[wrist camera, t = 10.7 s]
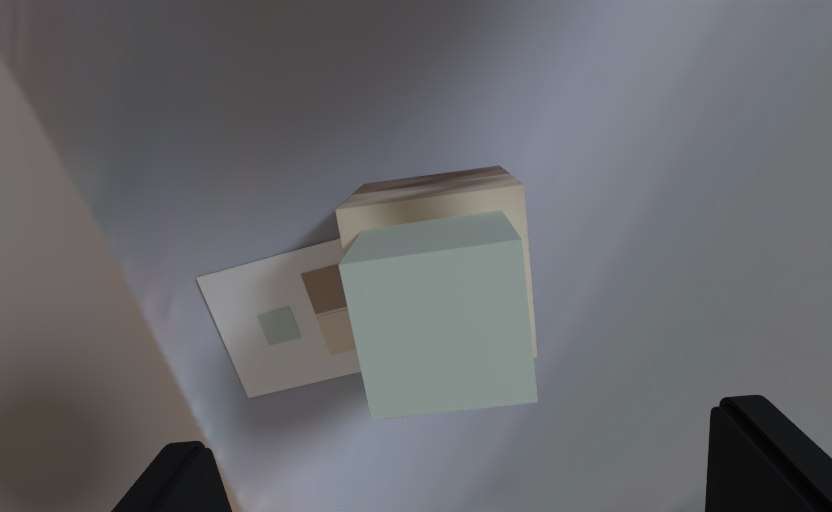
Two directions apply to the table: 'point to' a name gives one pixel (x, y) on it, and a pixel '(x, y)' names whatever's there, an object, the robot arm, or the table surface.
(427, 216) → the wood-grain cube
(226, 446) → the table surface
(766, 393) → the table surface
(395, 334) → the sage brick
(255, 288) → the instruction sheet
